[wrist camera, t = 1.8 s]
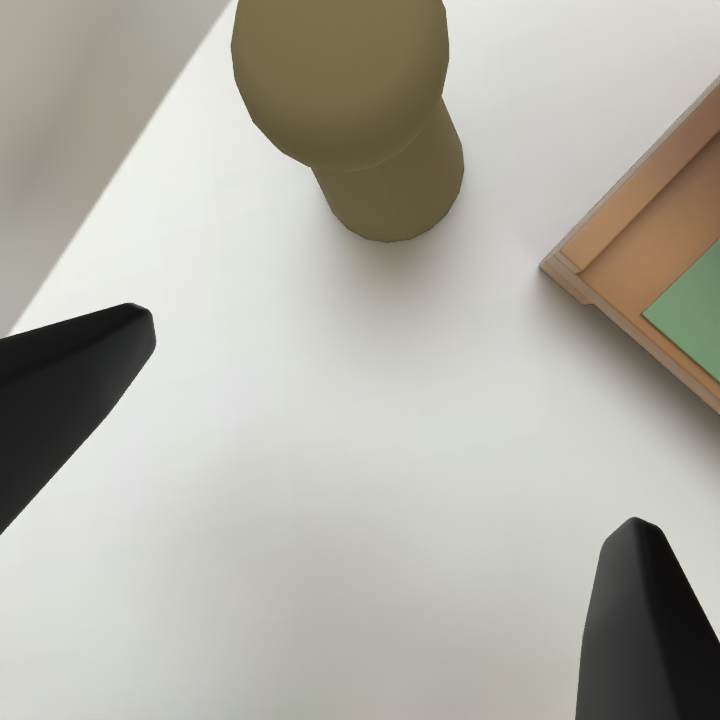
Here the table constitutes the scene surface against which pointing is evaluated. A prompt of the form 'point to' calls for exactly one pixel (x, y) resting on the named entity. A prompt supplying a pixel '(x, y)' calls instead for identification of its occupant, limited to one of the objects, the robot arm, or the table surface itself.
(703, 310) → the shelf
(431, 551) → the table surface
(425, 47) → the olive pawn
